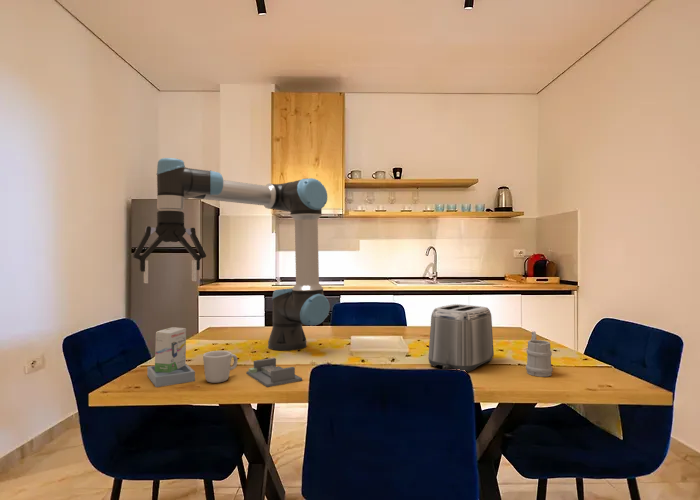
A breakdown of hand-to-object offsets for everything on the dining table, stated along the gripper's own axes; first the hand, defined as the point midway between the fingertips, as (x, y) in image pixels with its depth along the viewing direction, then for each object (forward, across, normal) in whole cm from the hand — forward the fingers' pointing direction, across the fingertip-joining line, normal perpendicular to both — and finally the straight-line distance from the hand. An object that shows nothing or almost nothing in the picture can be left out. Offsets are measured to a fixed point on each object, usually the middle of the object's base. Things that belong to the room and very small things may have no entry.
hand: (170, 282), depth 131 cm
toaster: (+29, -84, +37) cm, 96 cm away
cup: (+29, -12, +10) cm, 33 cm away
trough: (+29, 0, 0) cm, 29 cm away
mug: (+29, -97, +57) cm, 116 cm away
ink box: (+26, 0, 0) cm, 26 cm away
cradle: (+29, -26, +16) cm, 42 cm away
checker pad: (+28, -26, +16) cm, 41 cm away
